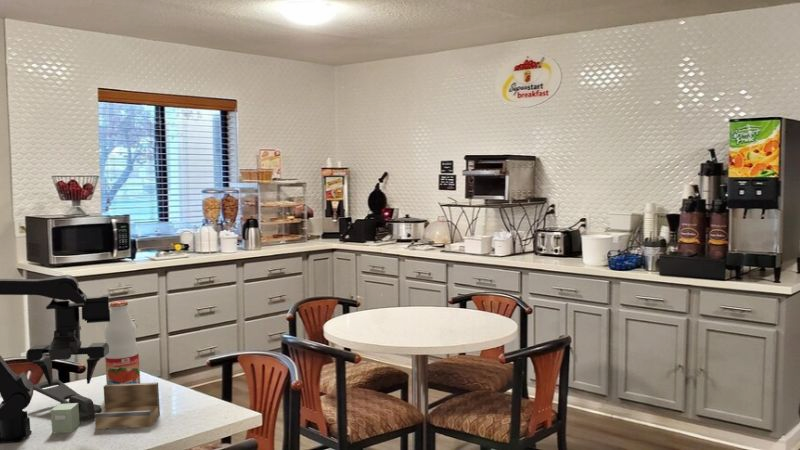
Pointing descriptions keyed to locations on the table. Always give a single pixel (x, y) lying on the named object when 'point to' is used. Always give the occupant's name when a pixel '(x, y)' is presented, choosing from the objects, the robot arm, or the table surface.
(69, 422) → the cabinet block
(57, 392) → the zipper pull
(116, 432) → the table surface
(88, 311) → the robot arm
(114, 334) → the fruit juice
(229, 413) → the table surface
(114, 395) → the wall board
